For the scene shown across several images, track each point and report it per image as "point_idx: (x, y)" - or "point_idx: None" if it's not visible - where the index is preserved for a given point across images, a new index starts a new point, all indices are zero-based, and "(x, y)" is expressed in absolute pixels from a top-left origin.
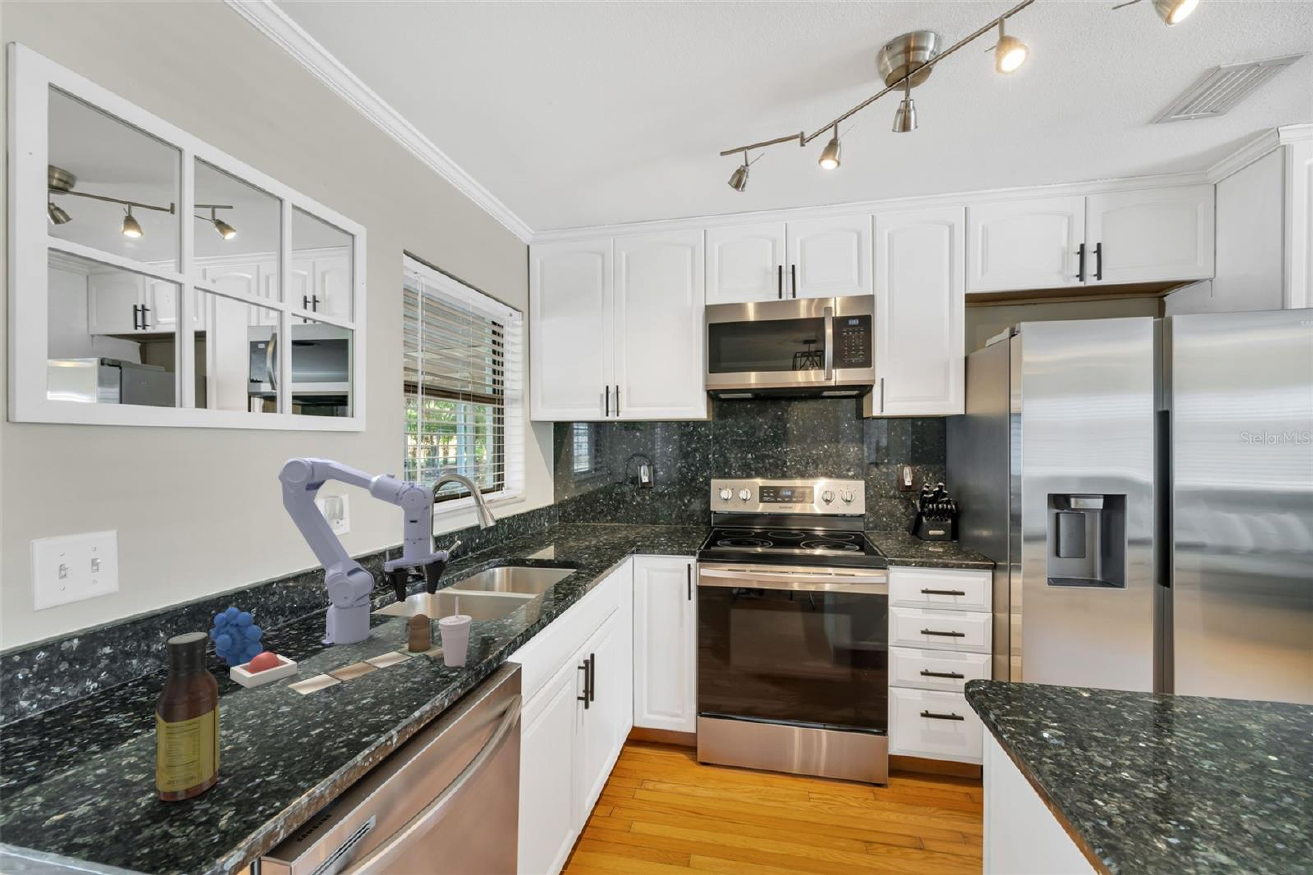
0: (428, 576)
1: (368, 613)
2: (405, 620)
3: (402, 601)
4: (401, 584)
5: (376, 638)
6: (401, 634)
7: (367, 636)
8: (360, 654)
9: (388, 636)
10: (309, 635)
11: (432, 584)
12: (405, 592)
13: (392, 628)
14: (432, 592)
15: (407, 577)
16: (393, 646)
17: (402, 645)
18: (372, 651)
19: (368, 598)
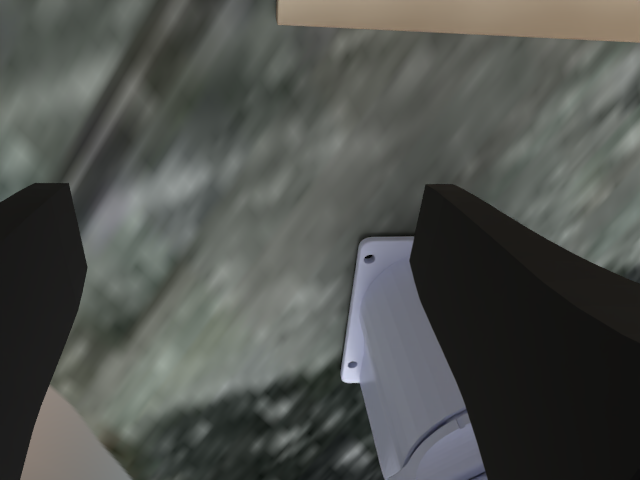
0: (14, 432)
1: (432, 360)
2: (104, 381)
3: (456, 188)
4: (622, 280)
5: (336, 271)
6: (233, 232)
7: (405, 270)
8: (524, 140)
9: (289, 255)
10: None
11: (27, 274)
12: (480, 219)
13: (209, 332)
14: (62, 205)
15: (624, 330)
16: (376, 103)
17: (399, 9)
18: (473, 129)
19: (432, 458)
